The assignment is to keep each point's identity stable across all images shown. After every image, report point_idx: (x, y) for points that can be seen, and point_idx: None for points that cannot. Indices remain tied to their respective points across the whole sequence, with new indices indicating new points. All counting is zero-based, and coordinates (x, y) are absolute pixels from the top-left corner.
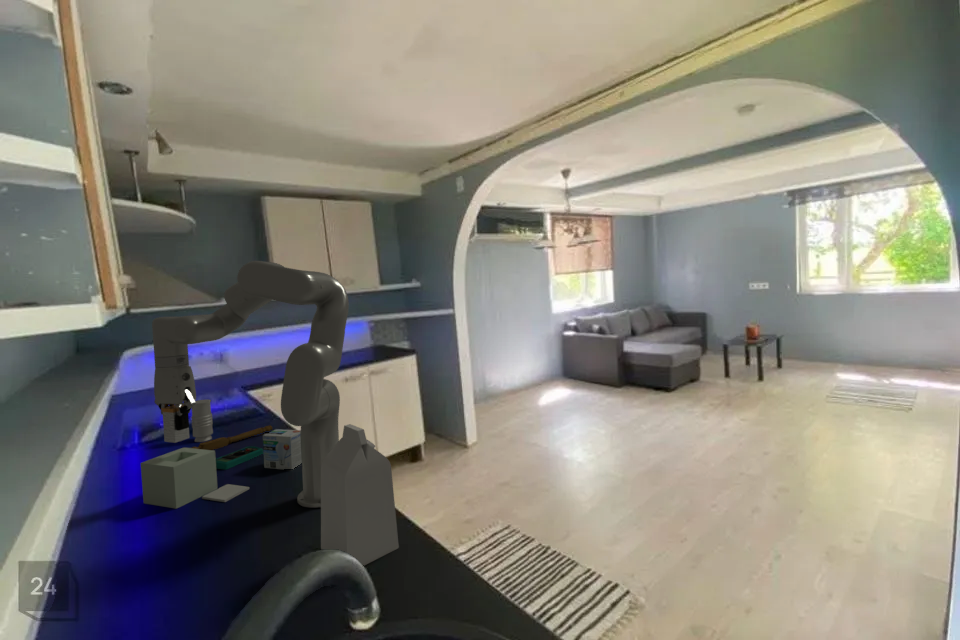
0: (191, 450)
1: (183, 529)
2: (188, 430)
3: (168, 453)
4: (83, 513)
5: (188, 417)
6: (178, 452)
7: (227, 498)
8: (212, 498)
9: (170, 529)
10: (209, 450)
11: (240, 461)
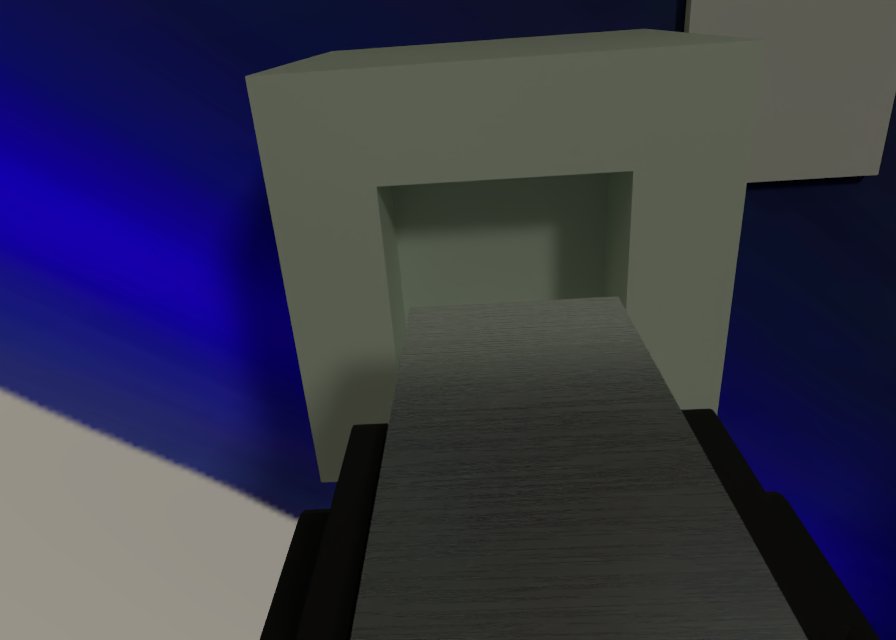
0: (455, 126)
1: (859, 433)
2: (644, 355)
3: (300, 268)
4: (200, 474)
5: (793, 537)
6: (372, 216)
7: (881, 152)
8: (767, 180)
9: (793, 449)
10: (684, 57)
11: None
